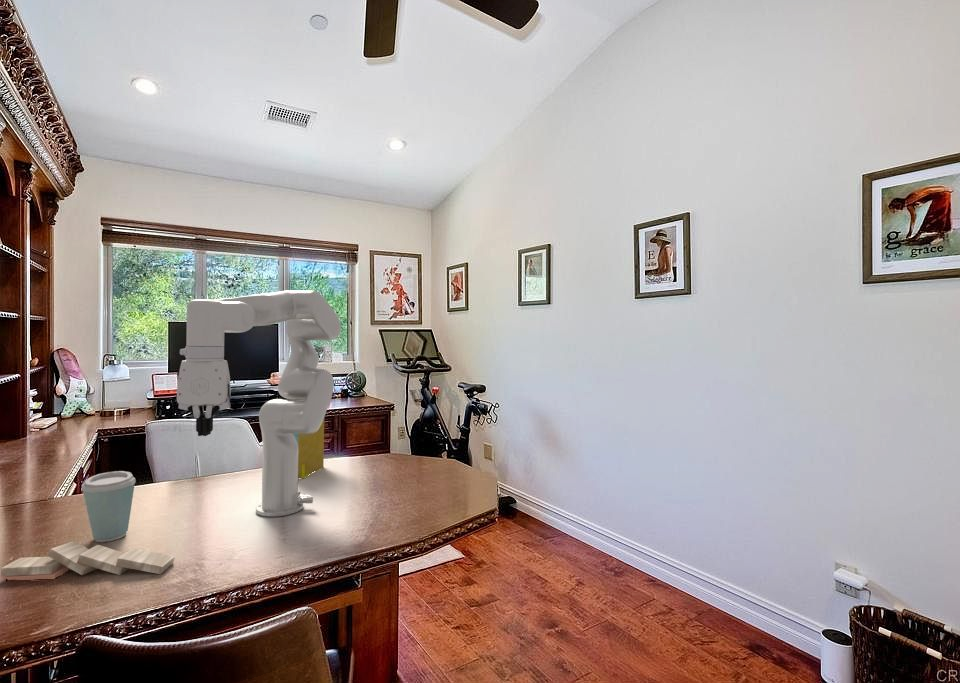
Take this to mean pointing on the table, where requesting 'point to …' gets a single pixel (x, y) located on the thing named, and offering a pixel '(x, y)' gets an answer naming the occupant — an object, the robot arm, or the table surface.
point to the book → (310, 452)
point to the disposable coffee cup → (109, 504)
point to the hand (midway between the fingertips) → (204, 434)
